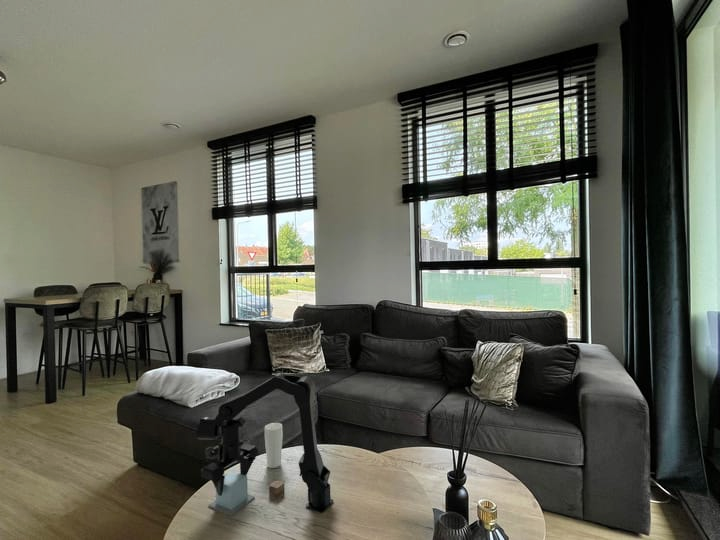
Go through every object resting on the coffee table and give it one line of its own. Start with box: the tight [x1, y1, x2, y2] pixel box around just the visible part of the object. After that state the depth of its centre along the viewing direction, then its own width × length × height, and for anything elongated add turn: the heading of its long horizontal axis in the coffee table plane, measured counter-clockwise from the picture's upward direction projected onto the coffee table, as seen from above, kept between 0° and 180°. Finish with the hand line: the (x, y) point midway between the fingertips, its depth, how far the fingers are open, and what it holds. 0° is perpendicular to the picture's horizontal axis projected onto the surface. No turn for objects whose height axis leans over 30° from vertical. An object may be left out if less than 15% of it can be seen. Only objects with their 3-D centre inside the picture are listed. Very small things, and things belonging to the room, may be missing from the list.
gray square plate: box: [208, 493, 256, 517], centre depth 118 cm, size 10×10×1 cm
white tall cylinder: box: [264, 422, 284, 469], centre depth 141 cm, size 7×7×15 cm
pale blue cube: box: [215, 471, 249, 510], centre depth 118 cm, size 7×7×7 cm
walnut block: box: [268, 479, 285, 500], centre depth 121 cm, size 4×4×4 cm
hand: (231, 487), depth 118 cm, fingers open, 9 cm apart
